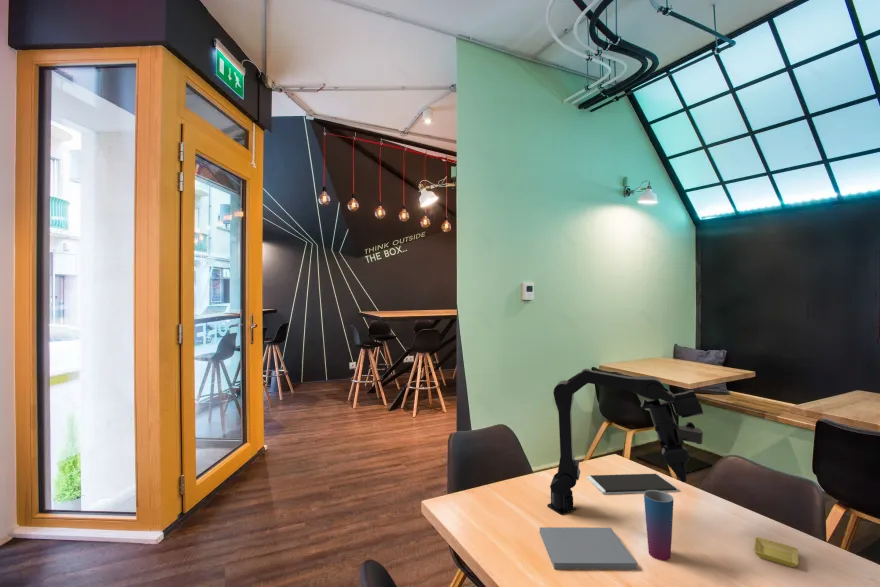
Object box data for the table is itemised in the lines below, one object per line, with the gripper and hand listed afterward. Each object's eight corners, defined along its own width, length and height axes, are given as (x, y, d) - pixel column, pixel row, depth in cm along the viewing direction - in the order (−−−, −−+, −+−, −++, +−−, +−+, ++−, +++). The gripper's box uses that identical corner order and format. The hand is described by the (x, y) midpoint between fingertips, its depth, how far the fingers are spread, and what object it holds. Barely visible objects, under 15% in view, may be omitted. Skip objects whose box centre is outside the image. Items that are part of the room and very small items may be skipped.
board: (554, 569, 101) (554, 562, 101) (539, 532, 117) (539, 527, 117) (636, 569, 101) (636, 563, 101) (610, 532, 117) (610, 527, 117)
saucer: (755, 543, 112) (755, 535, 112) (797, 556, 106) (797, 547, 106) (753, 559, 105) (753, 550, 105) (798, 573, 100) (798, 564, 100)
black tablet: (680, 494, 142) (680, 488, 142) (603, 496, 140) (603, 491, 140) (657, 477, 155) (657, 472, 155) (586, 479, 153) (586, 474, 153)
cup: (678, 564, 103) (677, 503, 103) (649, 561, 104) (648, 500, 104) (669, 548, 109) (668, 490, 110) (641, 545, 111) (640, 488, 111)
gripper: (700, 424, 109) (721, 485, 107) (689, 407, 126) (707, 459, 124) (654, 431, 113) (674, 490, 111) (650, 414, 130) (666, 464, 128)
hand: (681, 475), depth 118 cm, fingers open, 9 cm apart
